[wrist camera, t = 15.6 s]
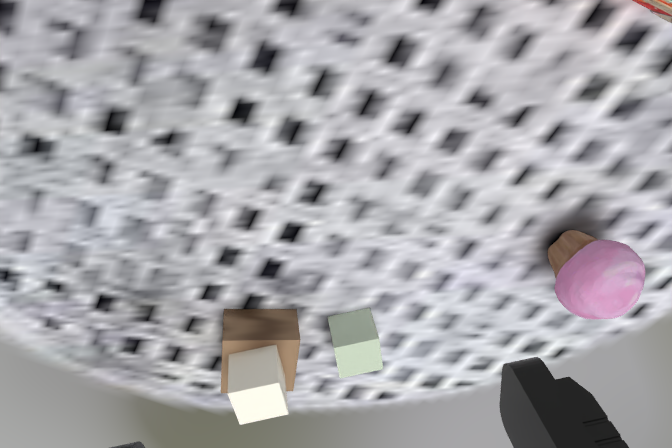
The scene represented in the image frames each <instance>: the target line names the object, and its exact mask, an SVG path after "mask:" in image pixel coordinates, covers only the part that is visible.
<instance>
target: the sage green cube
mask: <svg viewBox="0 0 672 448" xmlns="http://www.w3.org/2000/svg"><path fill="white" fill-rule="evenodd" d="M328 322H329V327H330V331H331V336H332V341H333V346H334V351H335V356H336V361H337V366H338V371H339V376H340V378H344V377H349V376H353V375H358V374H362V373H367V372H372V371H376V370H381V369H383V365H382V357H381V349H380V342H379V337H378V333H377V330H376V327H375V324H374V320H373V317H372V314H371V311H370V308H366V309H362V310H357V311H352V312H347V313H343V314H338V315H333V316H329V317H328Z"/></svg>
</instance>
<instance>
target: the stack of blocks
mask: <svg viewBox="0 0 672 448" xmlns="http://www.w3.org/2000/svg"><path fill="white" fill-rule="evenodd" d="M633 1H635V2H637V3H638V4H640V5H642V6H644V7H646V8H648V9H650V10H651V12H652V13H654V14H656V15H657V16H659V17H661V18H663V19H665V20H667V21H669V22H671V23H672V0H633Z"/></svg>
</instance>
